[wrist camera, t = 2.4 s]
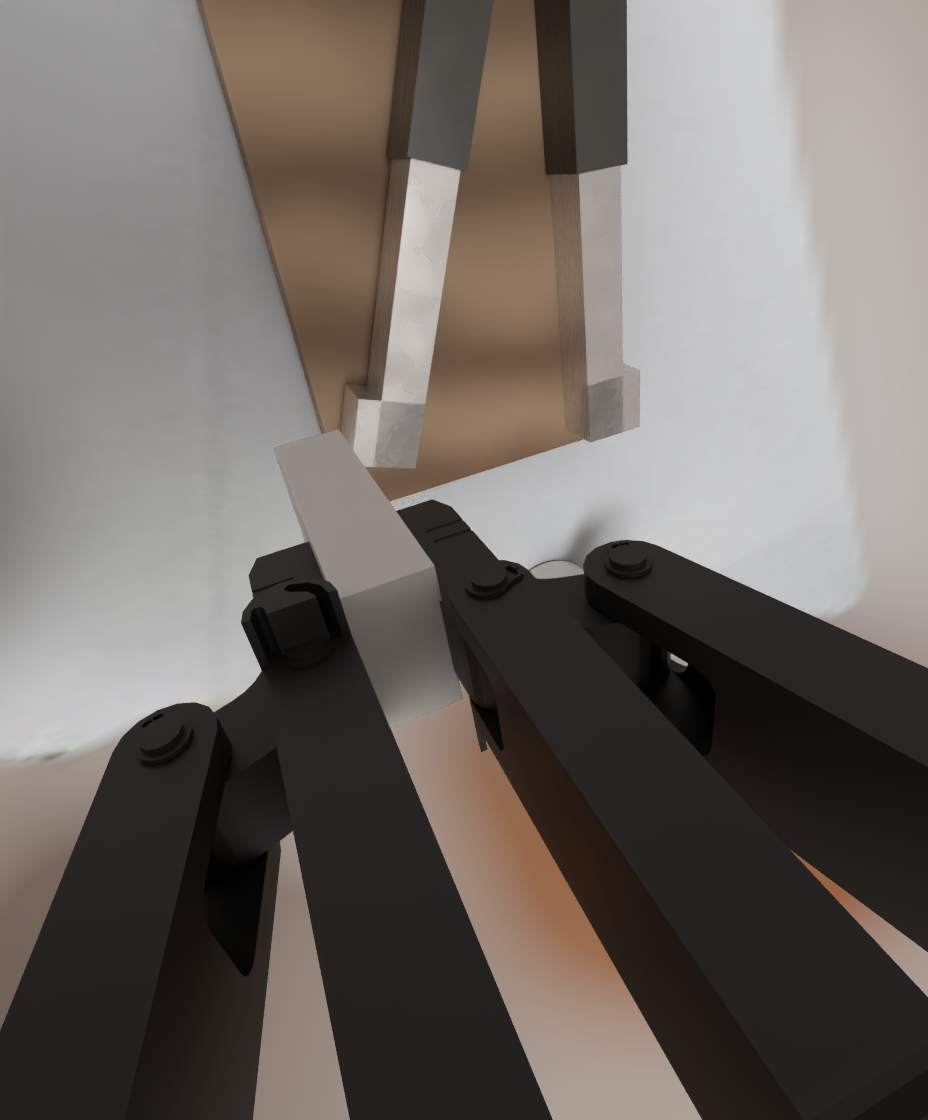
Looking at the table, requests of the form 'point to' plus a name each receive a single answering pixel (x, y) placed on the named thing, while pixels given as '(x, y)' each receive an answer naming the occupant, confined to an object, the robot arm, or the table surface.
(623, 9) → the grey white bar
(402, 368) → the arm
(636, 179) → the table surface
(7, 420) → the table surface
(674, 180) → the table surface
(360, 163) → the walnut board
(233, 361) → the table surface
